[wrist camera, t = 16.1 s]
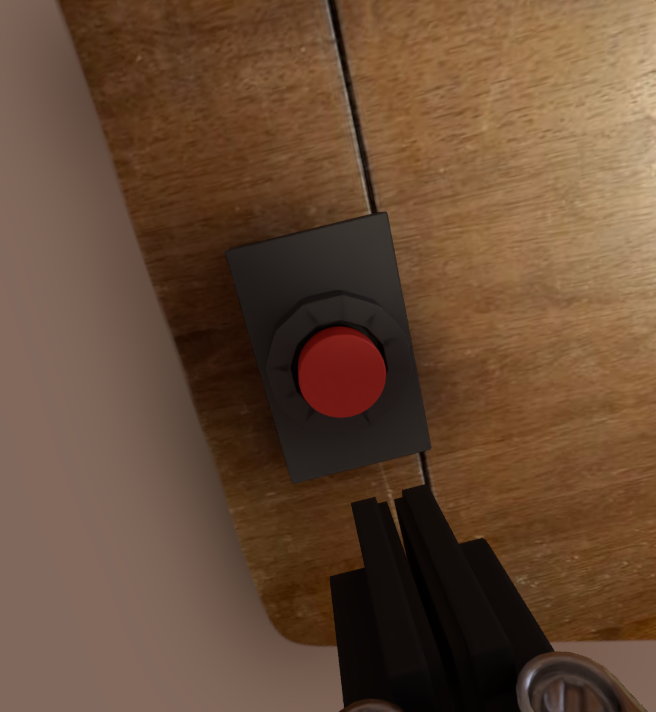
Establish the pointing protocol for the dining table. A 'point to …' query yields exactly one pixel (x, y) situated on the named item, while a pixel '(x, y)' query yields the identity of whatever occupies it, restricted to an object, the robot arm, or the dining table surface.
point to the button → (341, 372)
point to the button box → (321, 311)
